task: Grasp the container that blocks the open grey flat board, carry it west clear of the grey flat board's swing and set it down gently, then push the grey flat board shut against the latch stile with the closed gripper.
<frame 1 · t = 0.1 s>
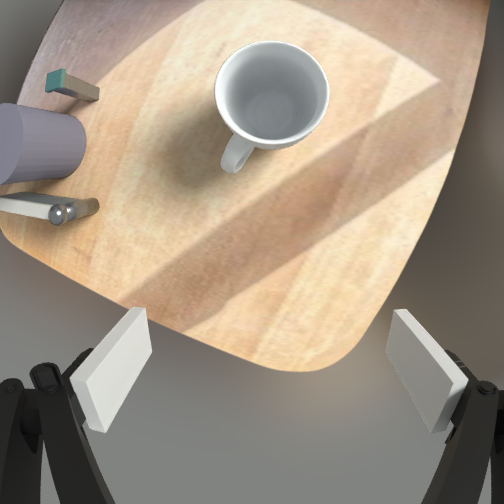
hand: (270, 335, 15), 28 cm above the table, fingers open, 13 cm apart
container: (62, 146, 40), on the table
hinge post: (92, 205, 42), on the table
grey flat board: (34, 203, 38), point 5 cm above the table, hinge at 80.0°
mug: (265, 121, 39), on the table
latch stile: (93, 94, 38), on the table
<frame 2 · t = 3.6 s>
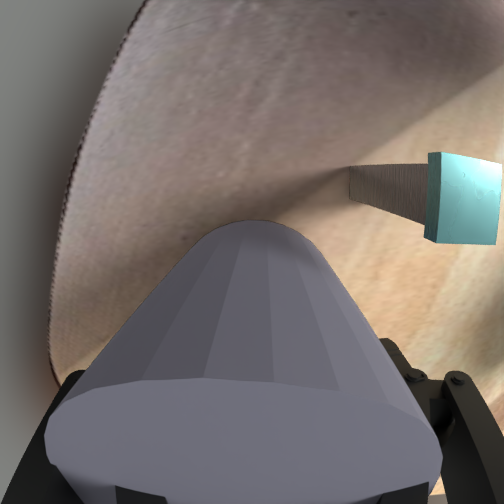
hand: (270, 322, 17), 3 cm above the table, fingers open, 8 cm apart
container: (254, 297, 20), on the table, touching gripper
latch stile: (365, 183, 18), on the table
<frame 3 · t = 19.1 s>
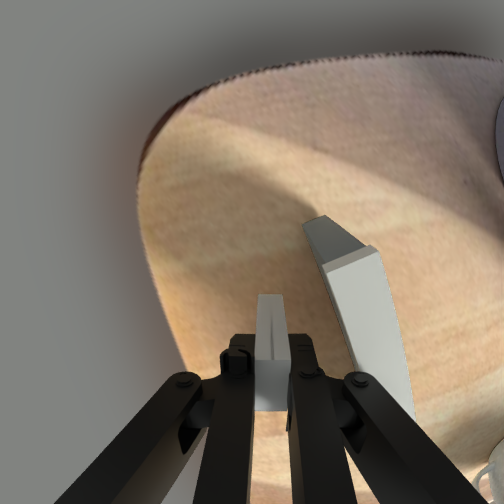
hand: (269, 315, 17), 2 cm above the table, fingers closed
grey flat board: (368, 355, 15), point 5 cm above the table, hinge at 77.7°, touching gripper
mug: (502, 445, 24), on the table
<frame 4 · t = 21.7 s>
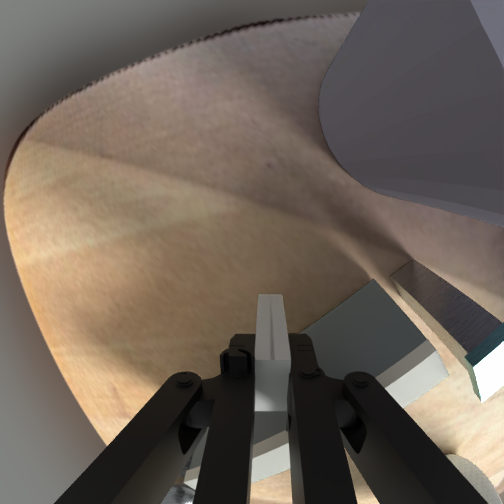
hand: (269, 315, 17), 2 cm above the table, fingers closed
container: (395, 117, 16), on the table
hinge post: (204, 399, 22), on the table
grey flat board: (298, 390, 16), point 5 cm above the table, hinge at 3.7°, touching gripper
mug: (424, 471, 25), on the table
latch stile: (407, 278, 19), on the table
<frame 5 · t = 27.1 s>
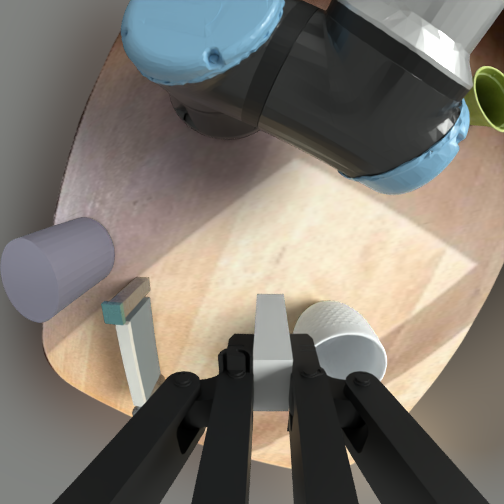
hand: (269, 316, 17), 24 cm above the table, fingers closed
plant pot: (464, 106, 35), on the table
container: (88, 249, 43), on the table
hinge post: (158, 378, 48), on the table
grey flat board: (141, 352, 41), point 5 cm above the table, hinge at -0.8°
mug: (319, 326, 45), on the table
latch stile: (143, 283, 44), on the table
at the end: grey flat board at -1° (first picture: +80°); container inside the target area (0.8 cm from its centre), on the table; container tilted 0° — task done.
